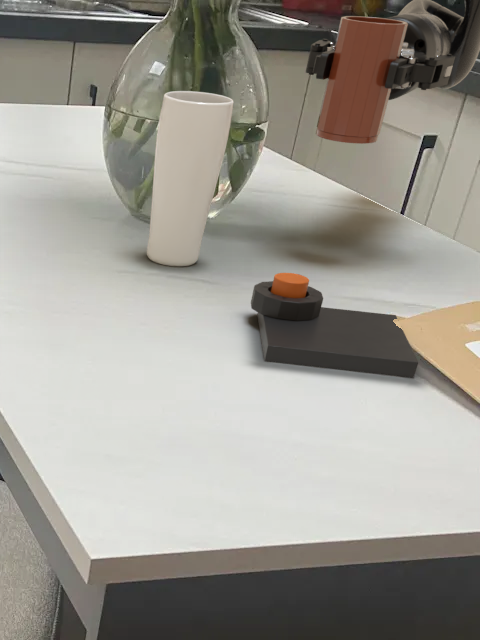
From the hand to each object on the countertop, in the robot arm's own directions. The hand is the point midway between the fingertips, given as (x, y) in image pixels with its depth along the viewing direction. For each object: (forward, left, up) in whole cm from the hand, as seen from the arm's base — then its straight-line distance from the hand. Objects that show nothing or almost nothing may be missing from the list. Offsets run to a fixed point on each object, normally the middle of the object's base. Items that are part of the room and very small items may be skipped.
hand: (356, 71), depth 101 cm
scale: (0, +25, -18) cm, 31 cm away
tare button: (+4, +21, -15) cm, 26 cm away
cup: (-1, -2, -6) cm, 6 cm away
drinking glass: (+14, +4, -18) cm, 23 cm away
